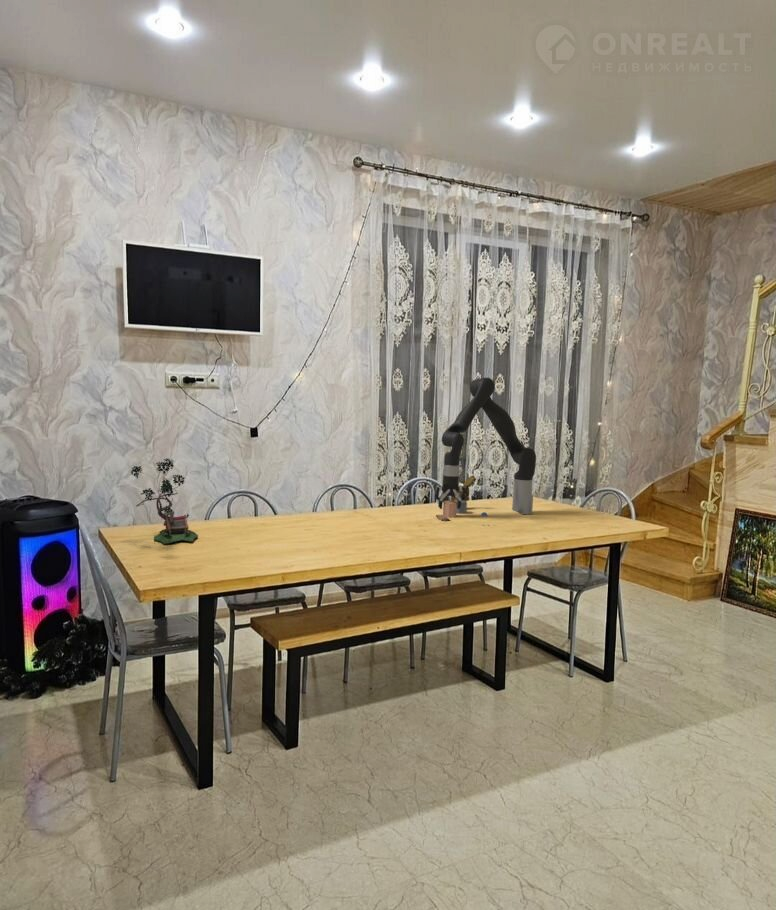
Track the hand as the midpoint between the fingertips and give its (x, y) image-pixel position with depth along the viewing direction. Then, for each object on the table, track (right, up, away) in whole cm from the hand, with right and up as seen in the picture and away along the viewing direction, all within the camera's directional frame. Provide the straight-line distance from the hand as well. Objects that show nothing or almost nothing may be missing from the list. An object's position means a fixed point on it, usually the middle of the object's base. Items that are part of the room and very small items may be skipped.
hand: (449, 508), depth 332 cm
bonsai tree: (-112, -8, -63) cm, 129 cm away
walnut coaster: (0, -5, +1) cm, 5 cm away
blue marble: (+17, -4, +6) cm, 18 cm away
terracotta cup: (0, -4, 0) cm, 4 cm away
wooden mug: (+8, -3, +22) cm, 24 cm away
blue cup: (+6, -4, +11) cm, 13 cm away
